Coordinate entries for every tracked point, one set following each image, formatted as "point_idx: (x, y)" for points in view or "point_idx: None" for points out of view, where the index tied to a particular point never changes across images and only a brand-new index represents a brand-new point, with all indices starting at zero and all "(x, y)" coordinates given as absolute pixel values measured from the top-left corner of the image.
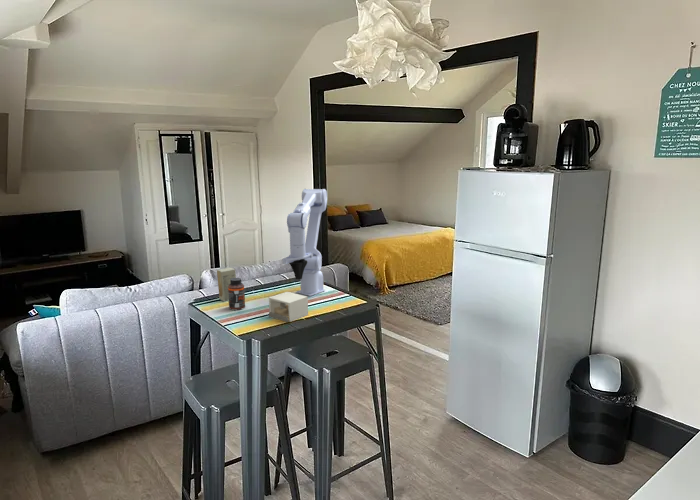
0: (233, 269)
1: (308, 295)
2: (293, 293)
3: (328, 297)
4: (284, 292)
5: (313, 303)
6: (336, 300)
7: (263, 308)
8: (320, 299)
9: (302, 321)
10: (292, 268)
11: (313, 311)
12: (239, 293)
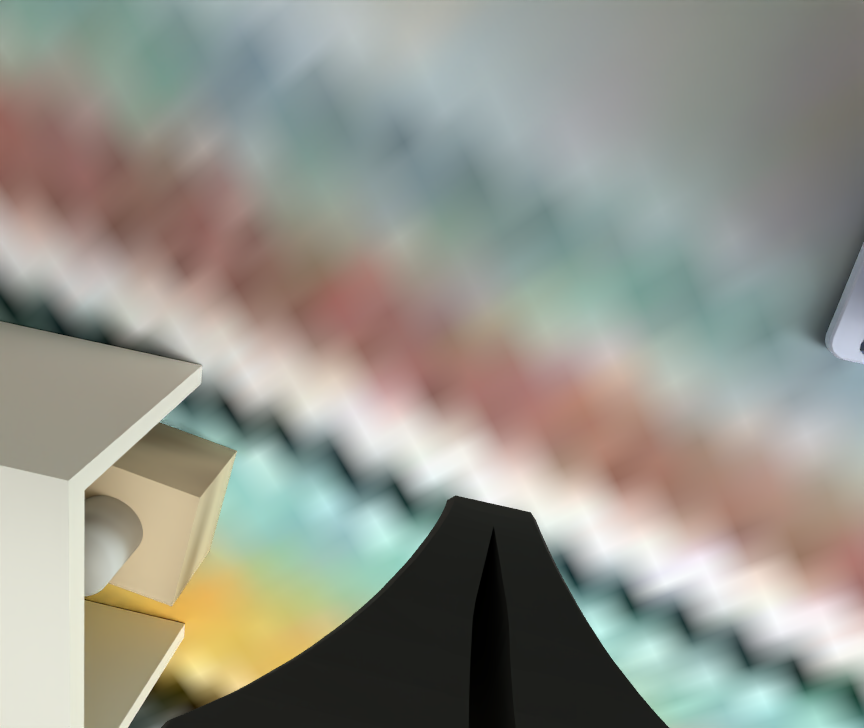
0: None
1: (830, 325)
2: (57, 611)
3: (856, 583)
4: (8, 465)
5: (542, 526)
6: (760, 703)
7: (41, 44)
8: (733, 532)
9: None
10: (321, 649)
11: (297, 638)
12: None
